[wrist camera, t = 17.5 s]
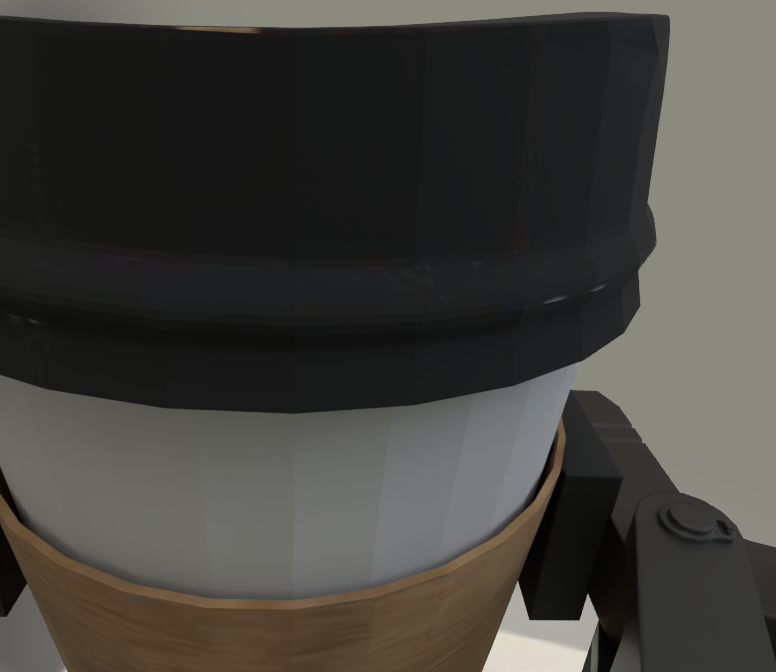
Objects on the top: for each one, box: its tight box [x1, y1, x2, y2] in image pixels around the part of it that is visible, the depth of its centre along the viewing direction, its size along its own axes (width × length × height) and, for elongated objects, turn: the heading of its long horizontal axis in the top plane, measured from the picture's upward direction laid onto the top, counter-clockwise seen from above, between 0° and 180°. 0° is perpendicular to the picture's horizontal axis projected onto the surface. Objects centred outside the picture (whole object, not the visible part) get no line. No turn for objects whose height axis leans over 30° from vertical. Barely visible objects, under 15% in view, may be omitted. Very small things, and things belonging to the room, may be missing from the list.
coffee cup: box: [0, 12, 670, 672], centre depth 10 cm, size 8×8×15 cm
